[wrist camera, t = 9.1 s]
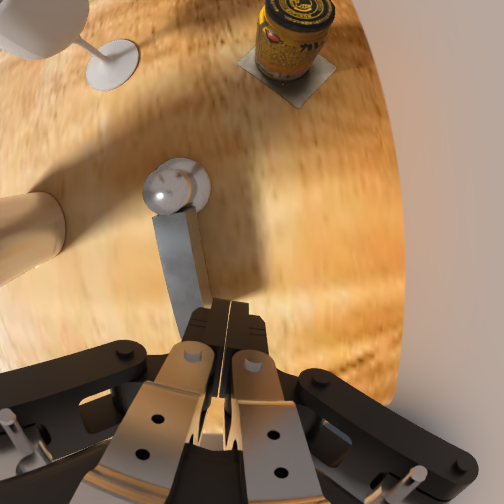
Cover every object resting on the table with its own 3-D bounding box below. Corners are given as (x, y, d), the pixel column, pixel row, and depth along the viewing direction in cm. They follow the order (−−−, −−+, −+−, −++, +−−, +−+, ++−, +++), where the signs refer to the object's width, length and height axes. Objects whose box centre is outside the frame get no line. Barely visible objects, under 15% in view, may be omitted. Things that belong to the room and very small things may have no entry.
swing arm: (156, 173, 27) (139, 173, 22) (194, 165, 27) (183, 163, 22) (185, 315, 31) (176, 338, 26) (219, 312, 31) (215, 335, 26)
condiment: (277, 26, 24) (292, -36, 12) (336, 68, 26) (380, 22, 14) (236, 64, 25) (231, 7, 14) (298, 110, 27) (329, 72, 15)
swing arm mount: (146, 207, 29) (142, 208, 28) (163, 151, 28) (160, 150, 27) (200, 225, 30) (198, 227, 29) (219, 168, 28) (218, 168, 27)
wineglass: (142, 32, 24) (56, -68, 3) (138, 85, 26) (18, 2, 5) (89, 48, 23) (-16, -18, 3) (83, 99, 25) (-48, 57, 5)
